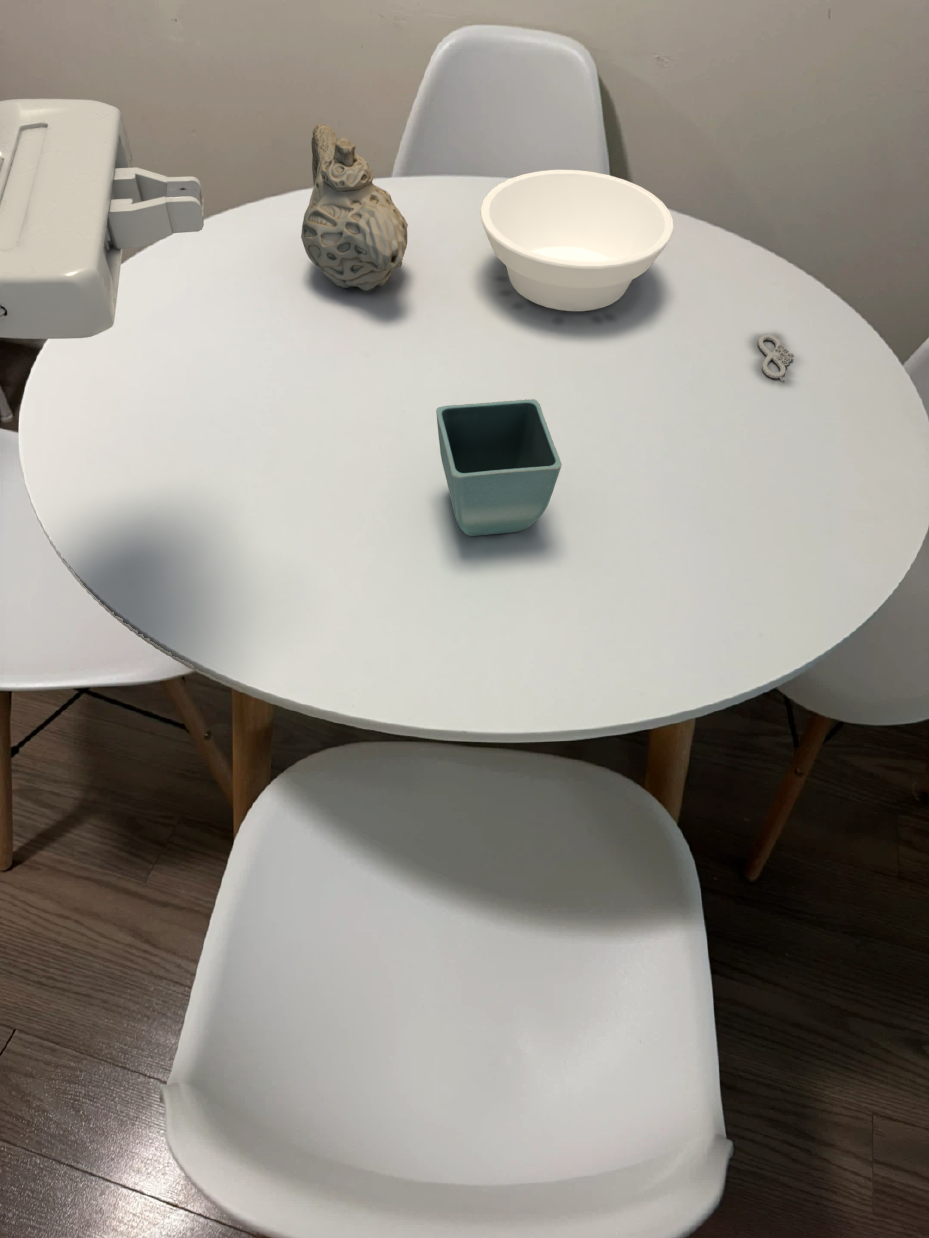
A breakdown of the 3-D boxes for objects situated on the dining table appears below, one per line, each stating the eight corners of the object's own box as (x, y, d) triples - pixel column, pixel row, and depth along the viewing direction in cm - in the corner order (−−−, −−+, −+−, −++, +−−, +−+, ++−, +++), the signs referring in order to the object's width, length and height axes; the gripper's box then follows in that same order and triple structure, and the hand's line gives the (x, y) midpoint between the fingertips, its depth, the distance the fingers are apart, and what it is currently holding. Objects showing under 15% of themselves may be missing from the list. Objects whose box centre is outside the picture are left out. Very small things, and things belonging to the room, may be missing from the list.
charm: (757, 330, 96) (790, 333, 95) (756, 334, 96) (788, 337, 96) (765, 375, 91) (799, 378, 90) (763, 379, 91) (798, 382, 91)
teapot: (440, 311, 97) (441, 172, 85) (342, 335, 94) (329, 194, 82) (366, 221, 109) (359, 88, 97) (277, 240, 105) (258, 104, 94)
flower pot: (528, 476, 81) (538, 396, 74) (551, 545, 76) (563, 466, 69) (434, 485, 80) (434, 405, 73) (450, 556, 74) (452, 477, 67)
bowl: (451, 250, 105) (453, 181, 99) (610, 226, 110) (622, 159, 103) (516, 351, 93) (523, 280, 86) (691, 319, 98) (710, 249, 91)
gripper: (-128, 264, 39) (187, 245, 41) (-48, 80, 52) (192, 72, 54) (-66, 380, 44) (213, 359, 46) (-6, 187, 57) (212, 176, 59)
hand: (202, 203), depth 50 cm, fingers closed
